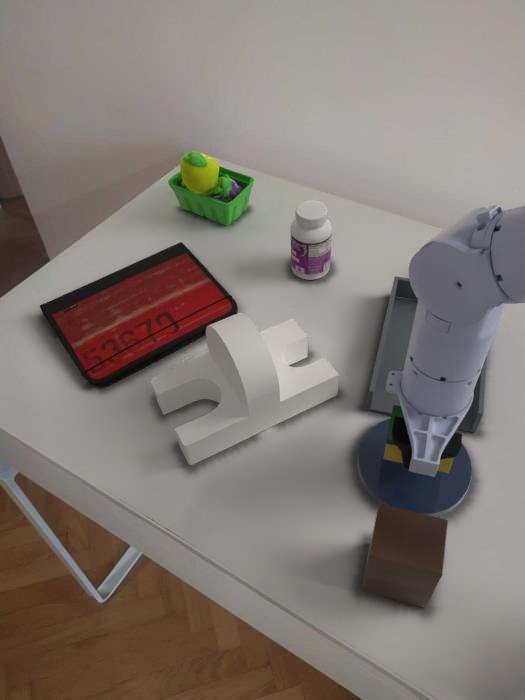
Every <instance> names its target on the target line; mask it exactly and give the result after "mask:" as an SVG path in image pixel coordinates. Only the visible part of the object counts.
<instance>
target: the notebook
mask: <svg viewBox="0 0 525 700" xmlns="http://www.w3.org/2000/svg"><path fill="white" fill-rule="evenodd" d="M39 308H40V311H41V312H42V314H43V316H44V318H45V319H46V321H47V322H48V324H49V325H50V327H51V329H52V330H53V332H54V333H55V335H56V336H57V338H58V339H59V341H60V343H61V344H62V346H63V347H64V349H65V350H66V352H67V353H68V355H69V357H70V358H71V359H72V361H73V363H74V365H75V366H76V367H77V369H78V370H79V372H80V374H81V376H82V378H84V380H85V381H86V382H88V384H89V385H91V386H92V387H97V388H104V387H108V386H111V385H114V384H116V383H117V382H119V381H122V380H123V379H125V378H127V377H129V376H131V375H133V374H135V373H138V372H139V371H141V370H143V369H145V368H147V367H149V366H151V365H152V364H154V363H156V362H159V361H161V360H163V359H165V358H166V357H168V356H171V355H172V354H174V353H176V352H178V351H179V350H181V349H183V348H185V347H187V346H188V345H190V344H192V343H194V342H196V341H197V340H199V339H201V338H203V337H205V336H206V327H207V326H208V325H211V324H213V323H215V322H218V321H220V320H223V319H225V318H228V317H230V316H233V315H235V314H237V313H238V312H239V311H238V310H239V308H238V303H237V301H236V300H235V299H234V298H233V295H231V294H230V293H229V292H228V291H227V290H226V289H225V287H224V286H223V285H222V284H221V283H220V282H219V280H217V278H215V277H214V275H213V274H212V273H211V272H210V271H209V269H208V268H206V266H205V265H204V264H203V263H202V262H201V261H200V260H199V259H198V258H197V257H196V256H195V255H194V254H193V252H192V251H191V250H190V249H189V248H188V247H187V246H186V245H185V243H183V241H181V242H178V243H175V244H174V245H171V246H169V247H167V248H164V249H161V250H160V251H158V252H155V253H154V254H151V255H149V256H147V257H145V258H142V259H140V260H138V261H136V262H133V263H132V264H129V265H127V266H125V267H122V268H121V269H118V270H116V271H114V272H112V273H109V274H107V275H105V276H103V277H101V278H99V279H96V280H93V281H91V282H89V283H87V284H85V285H83V286H81V287H78V288H76V289H74V290H72V291H69V292H67V293H65V294H63V295H60V296H58V297H56V298H54V299H51V300H49V301H47V302H44V303H41V304H40V305H39Z"/></svg>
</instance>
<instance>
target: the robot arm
mask: <svg viewBox="0 0 525 700" xmlns="http://www.w3.org/2000/svg"><path fill="white" fill-rule="evenodd" d="M408 278H409V280H410V284H411V287H412V289H413V291H414V293H415V295H416V297H417V298H418V300H417V301H418V304H417V308H416V313H415V318H414V322H413V327H412V332H411V337H410V341H409V346H408V351H407V356H406V360H405V365H404V368H403V371H390V372H389V374H388V378H387V383H386V391H387V392H389V393H391V394H395V395H397V396H398V397H399V401H400V404H401V408H402V412H403V416H404V418H402V417H398V416H395V418H394V423H393V428H392V441H393V444H394V445H396V446H397V447H398V448H399V449H400V450H401V453H402V460H403V464H404V467H405V468H408V469H409V471H410V472H415V473H418V474H422V475H428V476H432V477H435V475H436V472H437V469H438V467H439V463H440V460H442V459H446V458H454V457H456V456H457V455H458V453H459V452H460V449H461V443H462V444H463V442H462V441H463V433H460V432H458V431H457V432H455V431H456V429H457V428H458V426H459V425H460V423H461V421H462V420H463V418H464V417H465V415H466V413H467V412H468V410H469V408H470V406H471V404H472V401H473V396H474V393H473V391H474V388H475V385H476V383H477V380H478V377H479V375H480V372H481V370H482V367H483V364H484V361H485V359H486V356H487V357H488V353H489V350H490V348H491V345H492V343H493V341H494V337H495V335H496V332H497V330H498V327H499V324H500V319H501V316H502V313H503V311H504V308H505V305H506V304H508V305H511V304H512V305H513V304H525V205H521V206H516V207H513V208H512V207H511V208H509V209H505V210H504V208H503V207H502V205H501V204H494V205H491V206H487V207H484V206H483V207H476V208H473V209H471V210H468V211H467V212H464V214H462V215H461V216H460V217H458V218H457V219H456V220H454V221H453V222H452V223H451V224H449V225H448V226H447V227H446V228H444V229H443V230H442V231H440V232H439V233H438V234H437V235H436V236H434V237H433V238H431V239H430V240H429V241H428V242H426V243H425V244H423V245H422V246H421V247H420V249H418V251H417V252H416V253H415V254H414V255H412V257H411V259H410V262H409V265H408Z"/></svg>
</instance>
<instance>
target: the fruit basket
mask: <svg viewBox="0 0 525 700" xmlns="http://www.w3.org/2000/svg"><path fill="white" fill-rule="evenodd" d="M179 169H180V170H179V171H178V172H176V173H175V174H174V175H172V176H171V177H170V178H169V179H167V184H168V186H169V187H170V189H171V190H172V191H173V193H174V195H175V197H176V199H177V202H178V203H179V205H180V207H181V209H182V210H184V211H188V212H190V213H191V212H192V213H194V214H195V215H198V216H201V217H205V218H206V219H208V220H211V221H213V222H218V224H219V223H220V224H221V225H224V226H226V227H229V226H231V224H232V222H235V220H237V219H238V218H239V217H240V216H241V215H242V214H243V212H245V211H246V210H248V207H249V202H250V198H251V193H252V189H253V186H254V184H255V178H254V177H253V176H250V175H247V174H244V173H242V172H238V171H235V170H232V169H230V168H227V167H224V166H221V165H219V162H217V160H216V159H215V158H213V157H212V156H209V155H208V154H207V155H206V154H204V153H201V152H199V151H197V150H190V151H189V152H187V153H185V154H184V155H183V156H182V158H181V159H180V163H179Z"/></svg>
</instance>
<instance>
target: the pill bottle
mask: <svg viewBox="0 0 525 700" xmlns="http://www.w3.org/2000/svg"><path fill="white" fill-rule="evenodd" d="M328 212H329V211H328V207H327V205H326V204H325V203H324V202H321V201H319V200H315V199H314V200H313V199H312V200H311V199H309V200H305V201H302V202H300V203H299V204H298V205H297V206H296V207H295V217H294V219H293V220H292V222H291V224H290V234H289V235H290V265H291V267H290V268H291V271H292V273H293V274H294V275H295V276H297V277H298V278H300V279H303V280H308V281H311V280H317V279H321V278H323V277H324V276H326V275H327V274H328V273H329V271H330V268H331V258H332V239H333V238H332V237H333V226H332V223H331V221H330V219H329V218H328V217H329V216H328V214H329V213H328Z"/></svg>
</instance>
